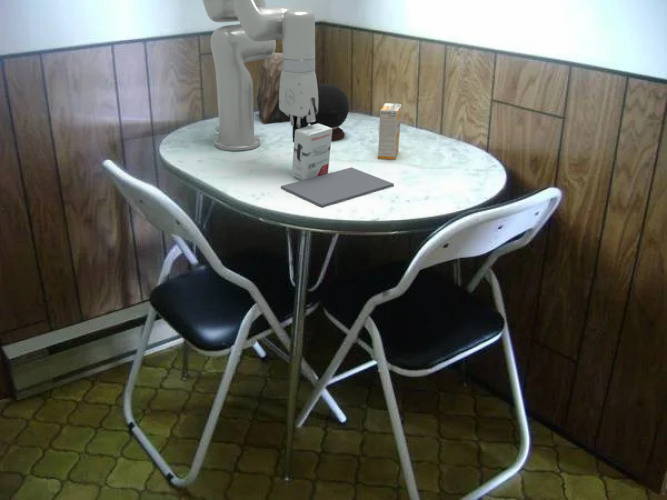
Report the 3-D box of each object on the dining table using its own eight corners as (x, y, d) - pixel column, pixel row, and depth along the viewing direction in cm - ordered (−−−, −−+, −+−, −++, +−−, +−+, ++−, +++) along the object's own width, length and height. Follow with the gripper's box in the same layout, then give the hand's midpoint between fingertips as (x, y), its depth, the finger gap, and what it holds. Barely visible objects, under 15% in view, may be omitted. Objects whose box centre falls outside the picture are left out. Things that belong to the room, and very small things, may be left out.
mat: (280, 188, 161) (280, 185, 161) (351, 169, 174) (351, 167, 174) (321, 207, 151) (321, 204, 151) (393, 186, 164) (393, 183, 164)
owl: (256, 114, 222) (254, 49, 214) (295, 112, 225) (294, 49, 216) (262, 124, 211) (260, 57, 202) (303, 122, 214) (302, 56, 205)
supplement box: (395, 160, 182) (398, 110, 176) (377, 158, 183) (379, 109, 177) (399, 151, 189) (402, 103, 184) (381, 149, 190) (384, 102, 184)
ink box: (313, 166, 174) (318, 121, 168) (328, 173, 172) (334, 128, 166) (290, 174, 168) (294, 128, 162) (305, 182, 166) (309, 135, 160)
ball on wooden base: (357, 138, 200) (359, 85, 193) (318, 145, 193) (319, 91, 186) (331, 127, 209) (332, 77, 203) (294, 133, 203) (293, 82, 196)
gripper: (267, 62, 165) (269, 138, 172) (306, 72, 154) (306, 152, 162) (292, 59, 169) (293, 133, 177) (331, 68, 159) (331, 146, 167)
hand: (299, 142), depth 169 cm, fingers closed
